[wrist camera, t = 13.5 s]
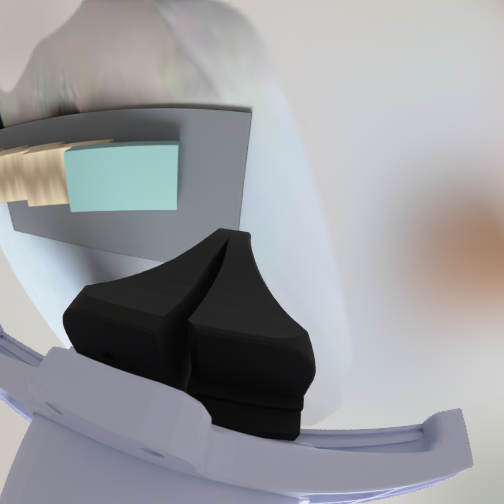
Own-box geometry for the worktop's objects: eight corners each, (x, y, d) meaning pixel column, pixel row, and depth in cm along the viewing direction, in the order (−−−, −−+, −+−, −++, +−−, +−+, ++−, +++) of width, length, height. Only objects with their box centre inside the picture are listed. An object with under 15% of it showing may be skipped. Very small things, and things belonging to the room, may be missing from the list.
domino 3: (176, 209, 20) (71, 211, 18) (178, 200, 22) (78, 203, 20) (178, 145, 17) (63, 151, 16) (179, 140, 19) (72, 146, 17)
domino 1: (63, 196, 21) (0, 202, 19) (70, 189, 22) (8, 195, 20) (57, 145, 18) (-8, 158, 16) (65, 141, 19) (2, 153, 18)
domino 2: (111, 201, 20) (28, 206, 18) (116, 193, 22) (37, 198, 20) (107, 142, 18) (20, 154, 16) (113, 138, 19) (30, 149, 17)
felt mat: (234, 272, 25) (233, 274, 25) (16, 228, 26) (14, 230, 26) (252, 113, 18) (251, 113, 17) (-1, 129, 19) (-3, 130, 19)
